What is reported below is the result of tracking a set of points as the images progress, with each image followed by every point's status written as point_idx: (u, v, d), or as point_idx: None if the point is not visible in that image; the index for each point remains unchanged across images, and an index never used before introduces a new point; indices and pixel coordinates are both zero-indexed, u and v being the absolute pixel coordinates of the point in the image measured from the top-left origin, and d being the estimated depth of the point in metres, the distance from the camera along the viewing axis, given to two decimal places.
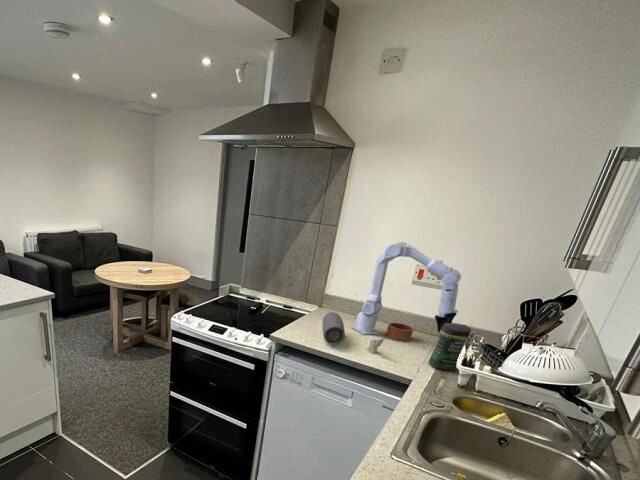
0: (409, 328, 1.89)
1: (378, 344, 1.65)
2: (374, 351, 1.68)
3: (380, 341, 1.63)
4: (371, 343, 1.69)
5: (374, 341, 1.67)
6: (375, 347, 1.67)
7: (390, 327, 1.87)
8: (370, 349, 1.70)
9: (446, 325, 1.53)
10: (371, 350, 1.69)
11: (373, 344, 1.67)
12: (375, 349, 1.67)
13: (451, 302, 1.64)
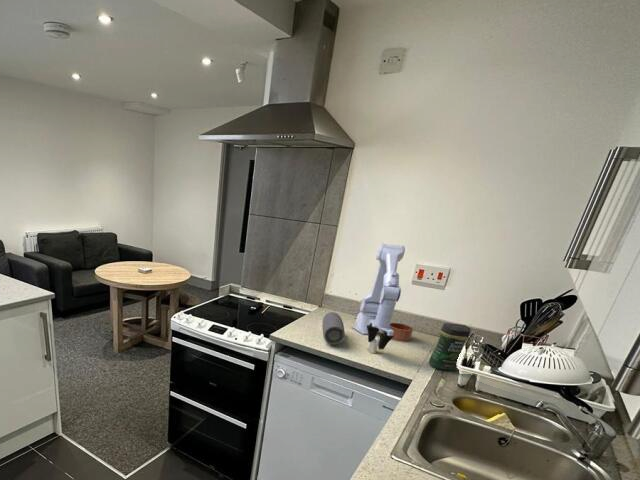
0: (409, 328, 1.89)
1: (378, 344, 1.65)
2: (374, 351, 1.68)
3: None
4: (371, 343, 1.69)
5: (374, 341, 1.67)
6: (375, 347, 1.67)
7: (390, 327, 1.87)
8: (370, 349, 1.70)
9: (446, 325, 1.53)
10: (371, 350, 1.69)
11: (373, 344, 1.67)
12: (375, 349, 1.67)
13: None
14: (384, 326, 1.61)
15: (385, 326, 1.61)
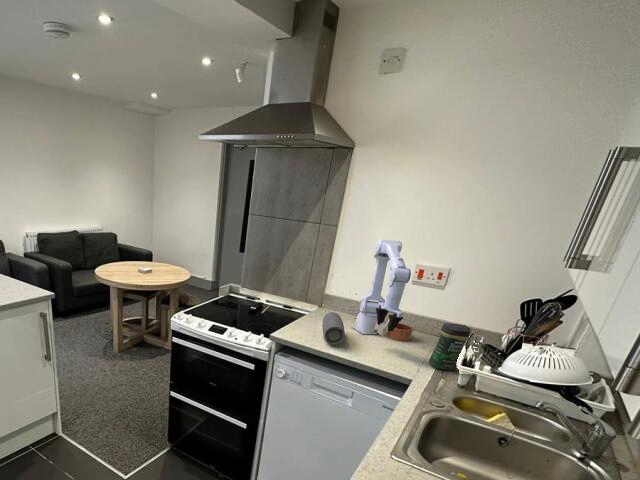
0: (409, 328, 1.89)
1: (387, 326, 1.66)
2: (383, 333, 1.69)
3: None
4: (380, 325, 1.70)
5: (383, 323, 1.69)
6: (384, 329, 1.68)
7: None
8: (379, 332, 1.71)
9: (446, 325, 1.53)
10: (380, 332, 1.70)
11: (382, 326, 1.69)
12: (384, 331, 1.69)
13: None
14: (393, 308, 1.62)
15: (394, 308, 1.62)
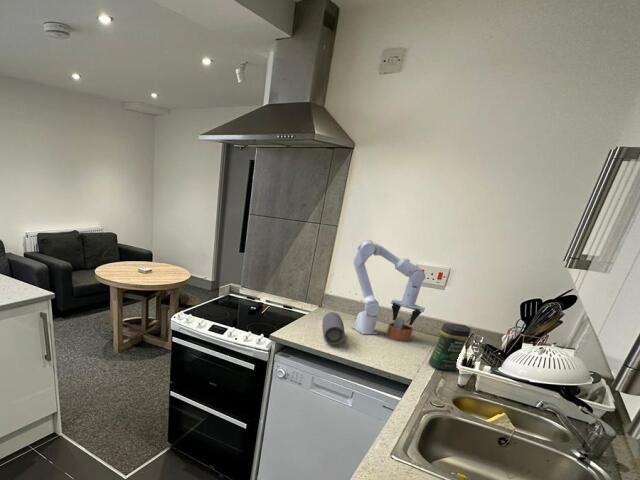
0: (409, 328, 1.89)
1: (407, 321, 1.85)
2: (402, 327, 1.87)
3: (410, 318, 1.83)
4: (397, 321, 1.88)
5: (401, 319, 1.87)
6: (403, 324, 1.87)
7: (390, 327, 1.87)
8: (396, 326, 1.89)
9: (446, 325, 1.53)
10: (398, 327, 1.88)
11: (400, 321, 1.87)
12: (402, 325, 1.87)
13: (404, 295, 1.82)
14: (413, 304, 1.81)
15: (414, 304, 1.81)
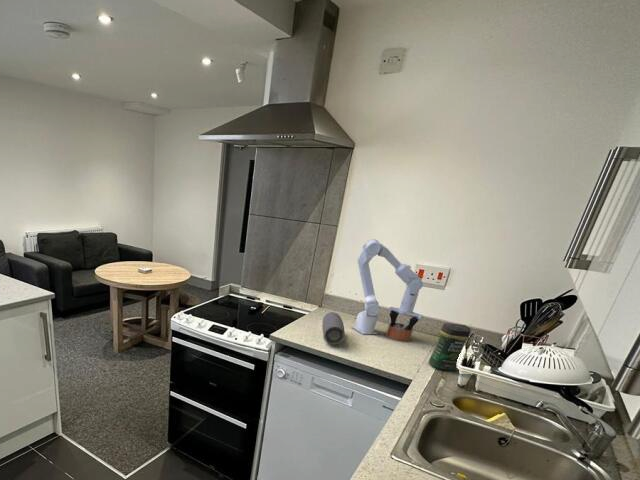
0: None
1: (405, 328, 1.86)
2: None
3: (408, 325, 1.85)
4: None
5: (398, 326, 1.88)
6: None
7: (390, 327, 1.87)
8: None
9: (446, 325, 1.53)
10: None
11: (398, 328, 1.88)
12: None
13: (401, 303, 1.84)
14: (411, 312, 1.82)
15: (412, 312, 1.82)
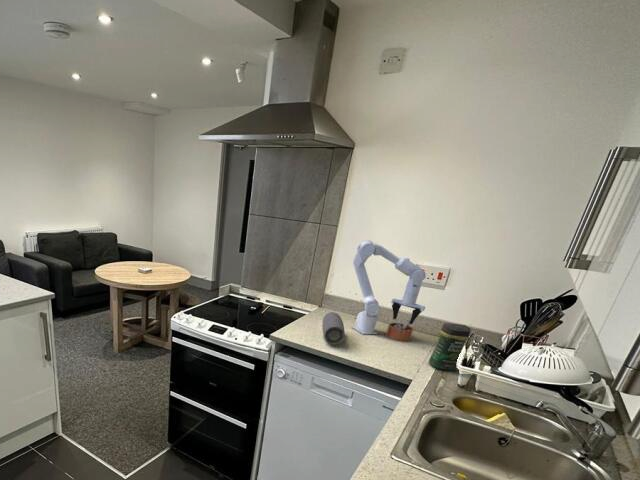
0: (409, 328, 1.89)
1: (405, 327, 1.86)
2: None
3: (408, 324, 1.84)
4: None
5: (399, 325, 1.88)
6: None
7: (390, 327, 1.87)
8: None
9: (446, 325, 1.53)
10: None
11: (399, 328, 1.88)
12: None
13: (404, 294, 1.82)
14: (414, 303, 1.81)
15: (414, 303, 1.81)
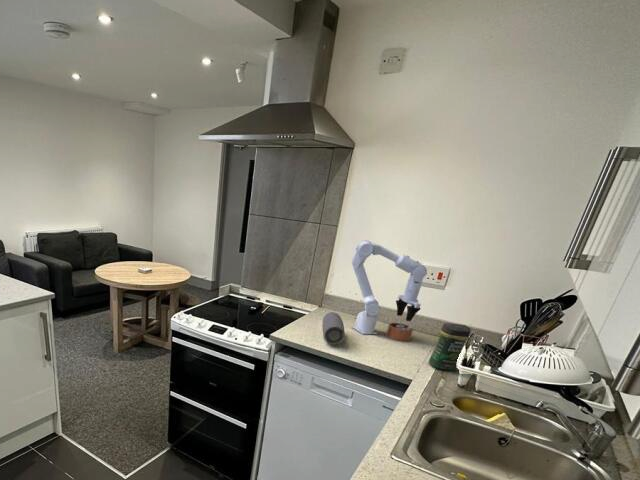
0: None
1: None
2: None
3: (411, 328, 1.83)
4: (397, 328, 1.88)
5: (401, 327, 1.86)
6: None
7: (390, 327, 1.87)
8: None
9: (446, 325, 1.53)
10: None
11: (401, 329, 1.87)
12: None
13: (418, 293, 1.79)
14: None
15: None
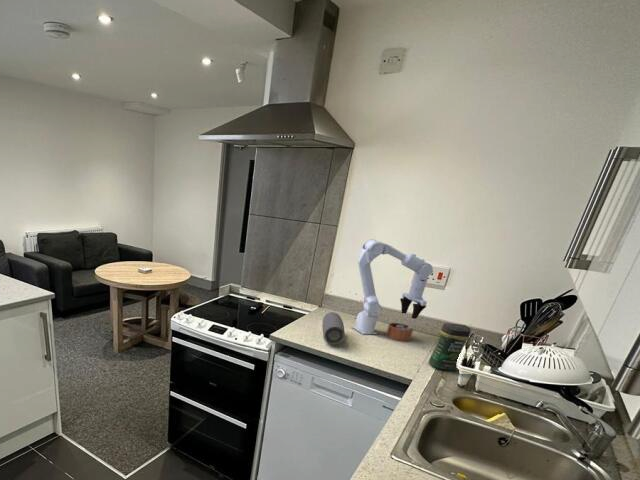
0: None
1: None
2: None
3: (411, 328, 1.83)
4: (397, 328, 1.88)
5: (401, 327, 1.86)
6: None
7: (390, 327, 1.87)
8: None
9: (446, 325, 1.53)
10: None
11: (401, 329, 1.87)
12: None
13: (423, 291, 1.81)
14: None
15: None
